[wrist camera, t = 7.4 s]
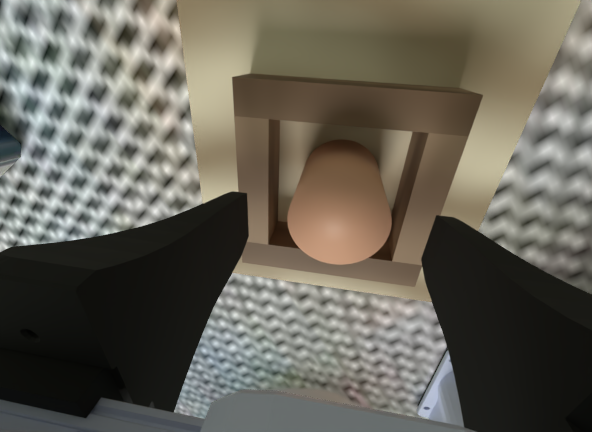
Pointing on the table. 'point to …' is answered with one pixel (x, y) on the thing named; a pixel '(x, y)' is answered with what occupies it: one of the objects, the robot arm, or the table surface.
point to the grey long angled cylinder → (8, 150)
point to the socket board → (363, 113)
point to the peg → (340, 205)
